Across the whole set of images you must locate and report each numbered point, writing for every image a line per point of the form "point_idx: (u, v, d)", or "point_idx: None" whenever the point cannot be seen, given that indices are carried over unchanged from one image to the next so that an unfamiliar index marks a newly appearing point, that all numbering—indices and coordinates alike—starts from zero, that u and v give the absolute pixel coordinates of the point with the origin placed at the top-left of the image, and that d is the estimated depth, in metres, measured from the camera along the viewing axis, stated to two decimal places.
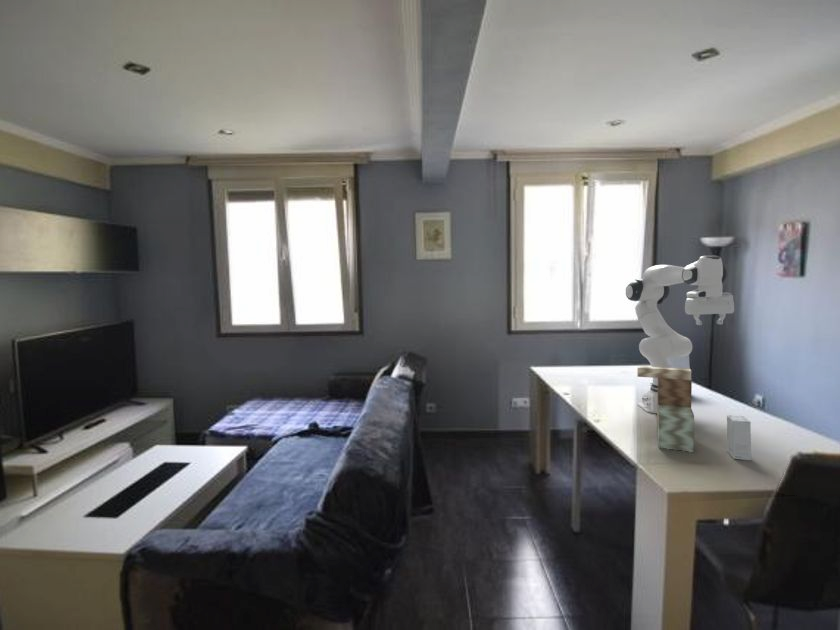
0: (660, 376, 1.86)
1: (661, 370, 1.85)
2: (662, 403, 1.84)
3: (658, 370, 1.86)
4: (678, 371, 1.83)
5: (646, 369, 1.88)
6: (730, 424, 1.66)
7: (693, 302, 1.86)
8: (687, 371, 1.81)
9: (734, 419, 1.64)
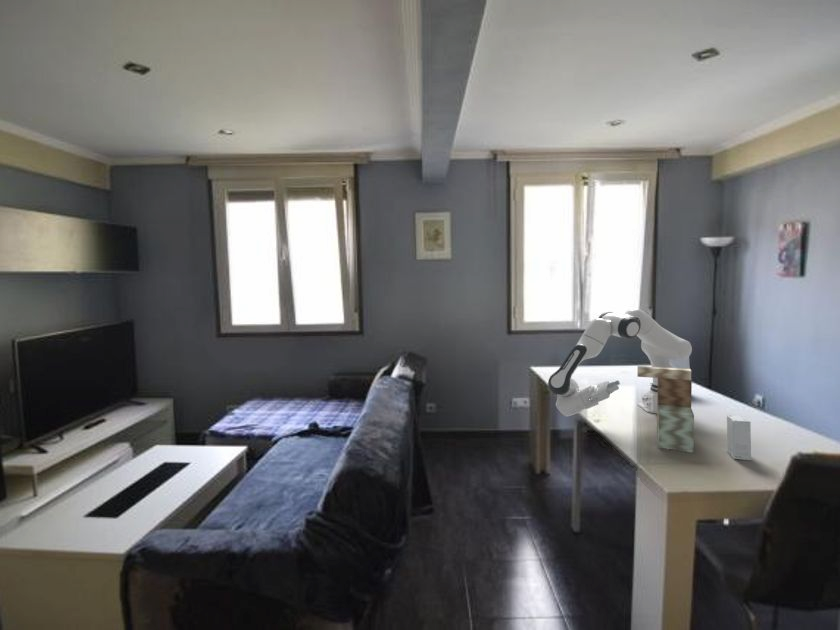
0: (660, 376, 1.86)
1: (661, 370, 1.85)
2: (662, 403, 1.84)
3: (658, 370, 1.86)
4: (678, 371, 1.83)
5: (646, 369, 1.88)
6: (730, 424, 1.66)
7: None
8: (687, 371, 1.81)
9: (734, 419, 1.64)
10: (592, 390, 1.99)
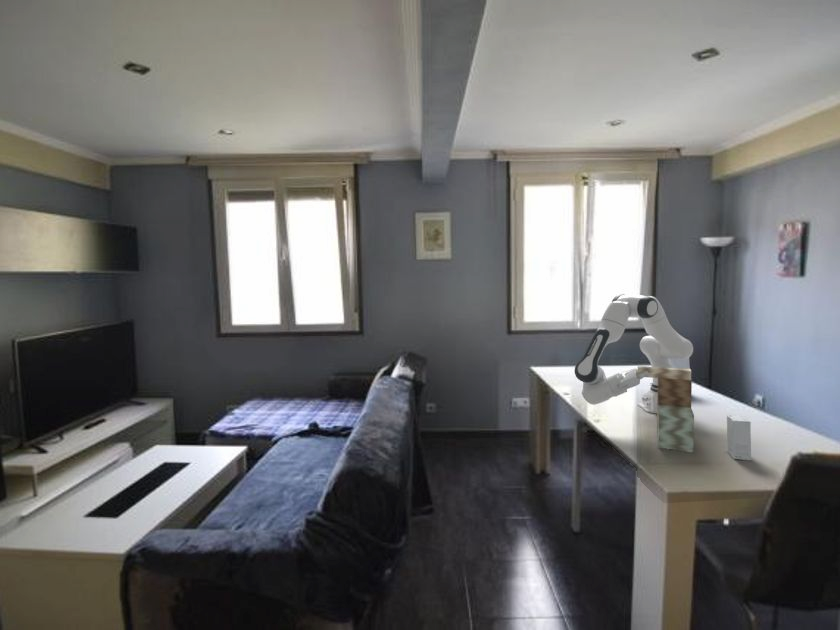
0: (660, 376, 1.86)
1: (661, 370, 1.85)
2: (662, 403, 1.84)
3: (658, 370, 1.86)
4: (678, 371, 1.83)
5: (646, 369, 1.88)
6: (730, 424, 1.66)
7: None
8: (687, 371, 1.81)
9: (734, 419, 1.64)
10: (621, 377, 1.93)
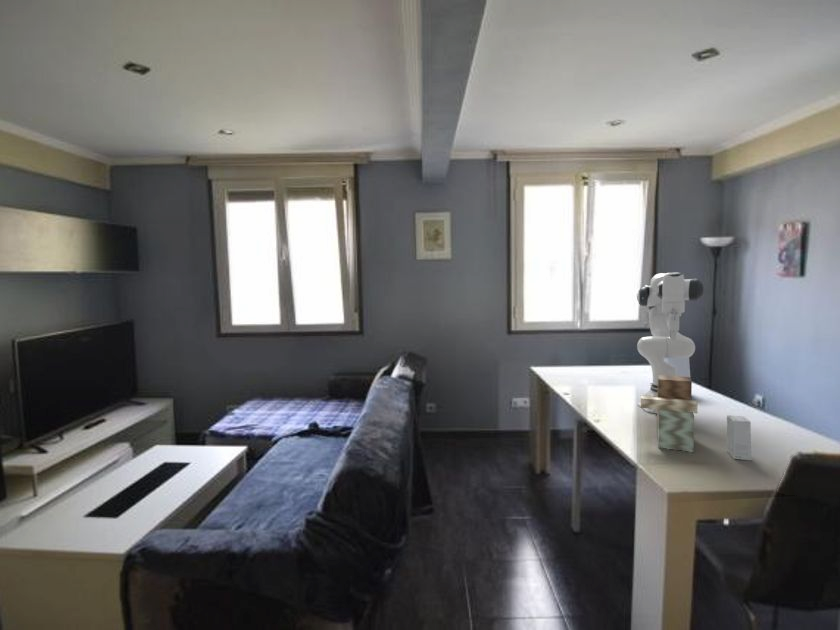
0: (665, 408, 1.77)
1: (666, 402, 1.77)
2: None
3: (662, 402, 1.77)
4: (684, 403, 1.74)
5: (650, 400, 1.79)
6: (730, 424, 1.66)
7: None
8: (693, 403, 1.72)
9: (734, 419, 1.64)
10: (679, 314, 1.92)
